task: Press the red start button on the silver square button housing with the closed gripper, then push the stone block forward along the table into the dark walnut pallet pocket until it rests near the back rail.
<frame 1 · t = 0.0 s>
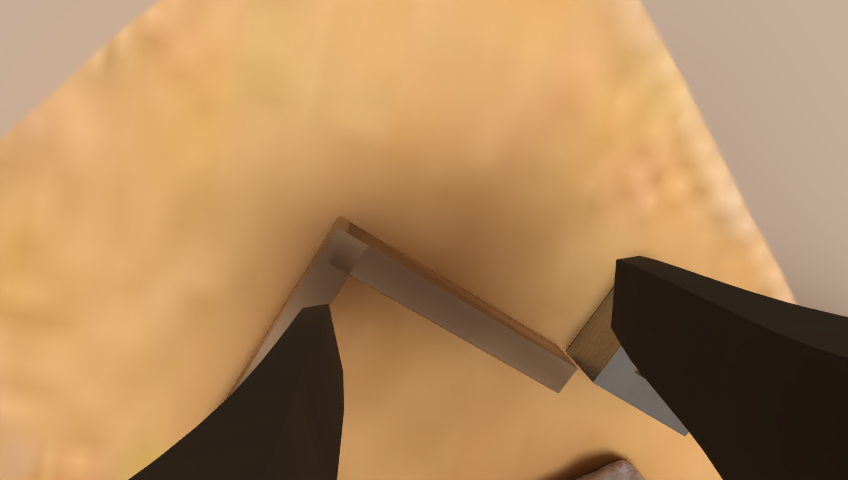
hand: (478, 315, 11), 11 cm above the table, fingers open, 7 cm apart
silver square button housing: (643, 332, 24), on the table
pallet pocket: (345, 431, 24), on the table
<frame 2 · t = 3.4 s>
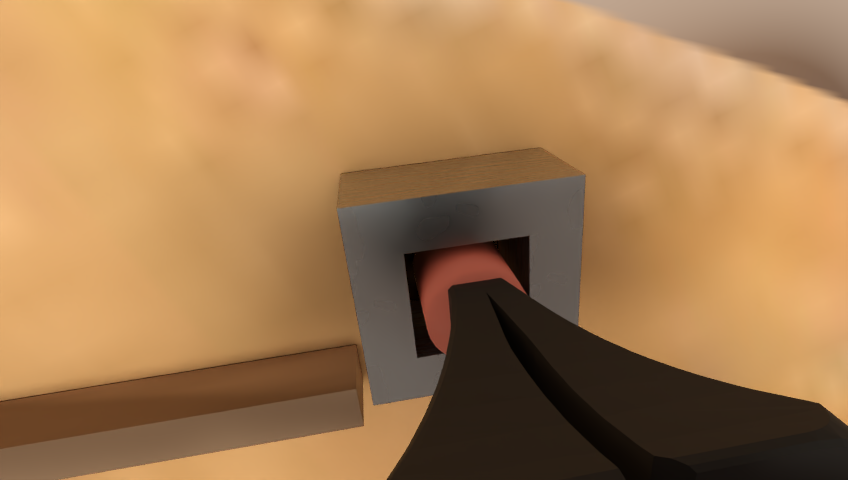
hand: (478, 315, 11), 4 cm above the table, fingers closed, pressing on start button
start button: (465, 287, 13), point 2 cm above the table, slide at 1.1 cm, touching gripper
silver square button housing: (450, 251, 15), on the table
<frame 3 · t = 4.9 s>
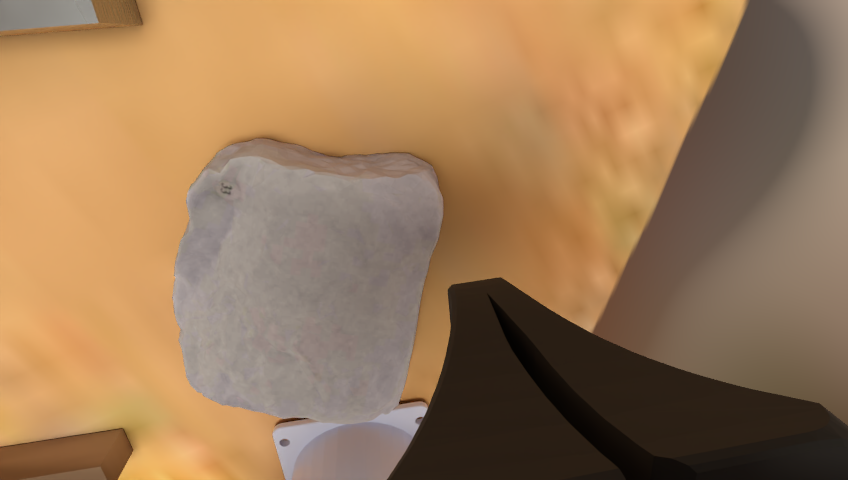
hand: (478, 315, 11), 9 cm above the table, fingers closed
stone block: (306, 264, 21), on the table
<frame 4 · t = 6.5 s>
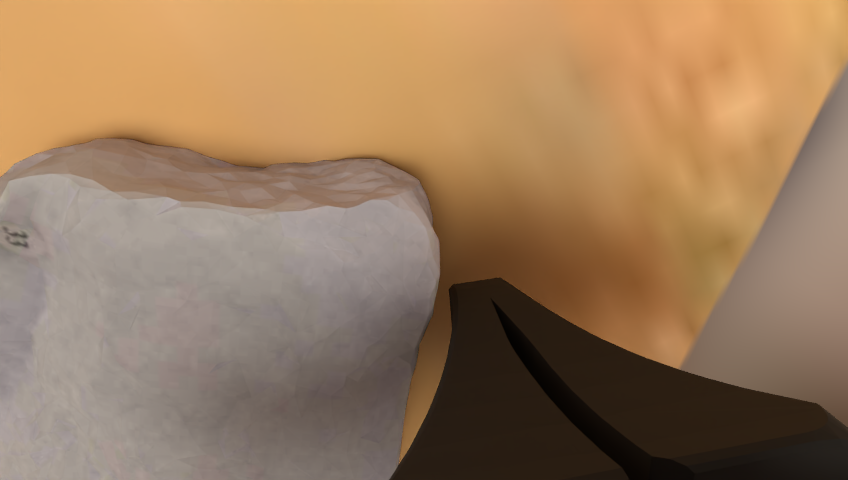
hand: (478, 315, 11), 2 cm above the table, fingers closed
stone block: (224, 339, 13), on the table, touching gripper
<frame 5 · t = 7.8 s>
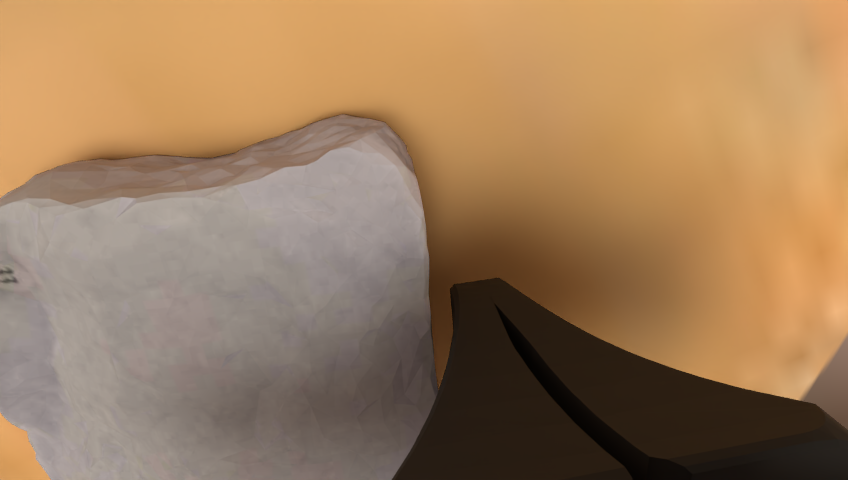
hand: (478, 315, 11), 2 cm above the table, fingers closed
stone block: (252, 338, 13), on the table, touching gripper
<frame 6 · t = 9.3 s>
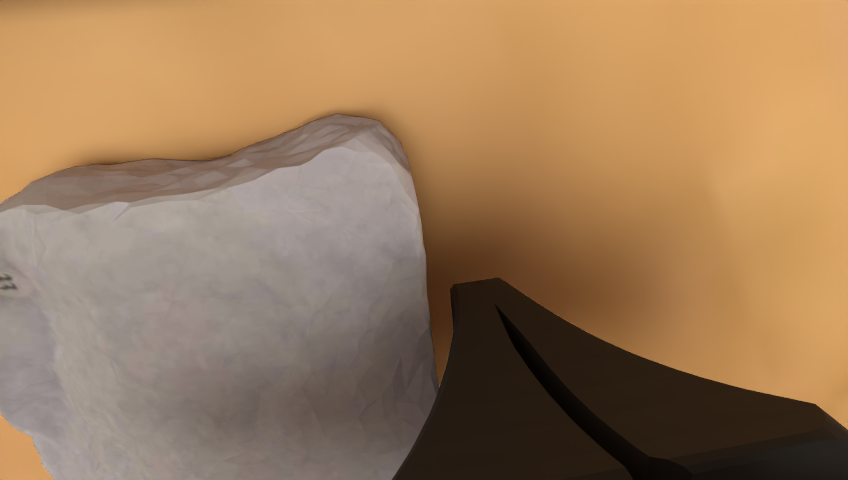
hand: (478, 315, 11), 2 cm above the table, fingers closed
stone block: (253, 340, 13), on the table, touching gripper
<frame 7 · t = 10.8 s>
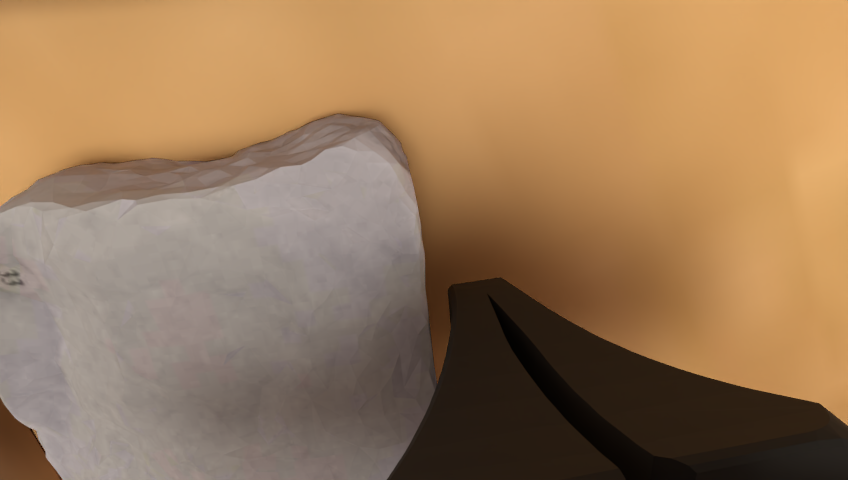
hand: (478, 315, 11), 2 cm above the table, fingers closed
stone block: (254, 336, 13), on the table
pallet pocket: (167, 329, 12), on the table
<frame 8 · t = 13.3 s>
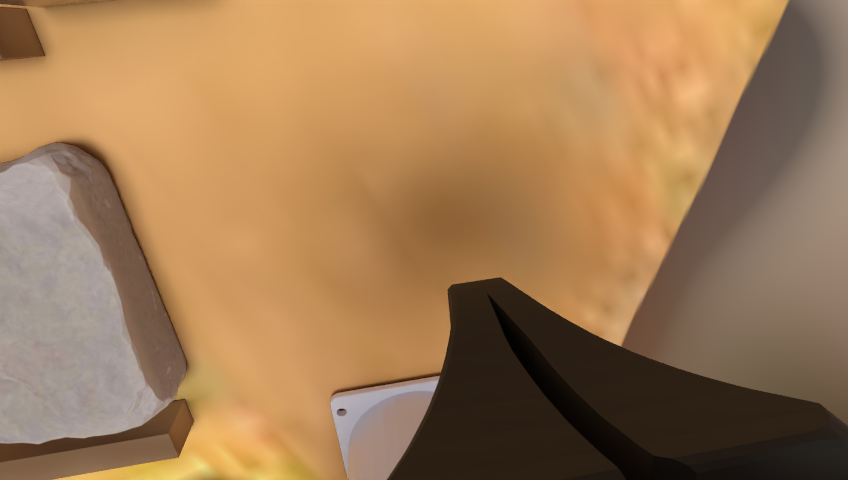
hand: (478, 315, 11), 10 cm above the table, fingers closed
stone block: (45, 284, 20), on the table
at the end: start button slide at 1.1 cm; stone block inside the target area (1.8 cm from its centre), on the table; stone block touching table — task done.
